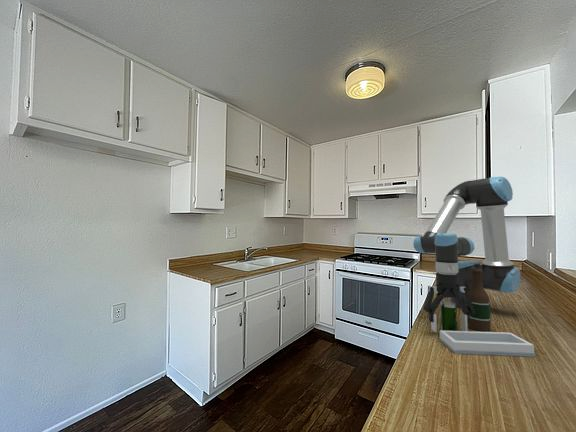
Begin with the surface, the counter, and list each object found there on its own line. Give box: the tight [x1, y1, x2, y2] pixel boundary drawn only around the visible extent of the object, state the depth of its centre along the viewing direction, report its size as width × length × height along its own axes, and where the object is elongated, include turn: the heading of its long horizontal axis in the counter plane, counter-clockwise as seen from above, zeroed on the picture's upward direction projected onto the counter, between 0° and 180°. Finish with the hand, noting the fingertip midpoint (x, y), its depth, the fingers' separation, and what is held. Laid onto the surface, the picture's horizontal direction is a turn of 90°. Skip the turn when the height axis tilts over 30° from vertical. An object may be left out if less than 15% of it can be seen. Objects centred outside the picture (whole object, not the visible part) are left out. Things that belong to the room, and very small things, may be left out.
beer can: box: [439, 300, 459, 331], centre depth 95 cm, size 5×5×12 cm
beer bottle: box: [467, 268, 492, 332], centre depth 101 cm, size 8×8×24 cm
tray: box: [438, 329, 536, 358], centre depth 85 cm, size 10×24×4 cm, turn 84°
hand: (449, 330), depth 95 cm, fingers open, 10 cm apart
